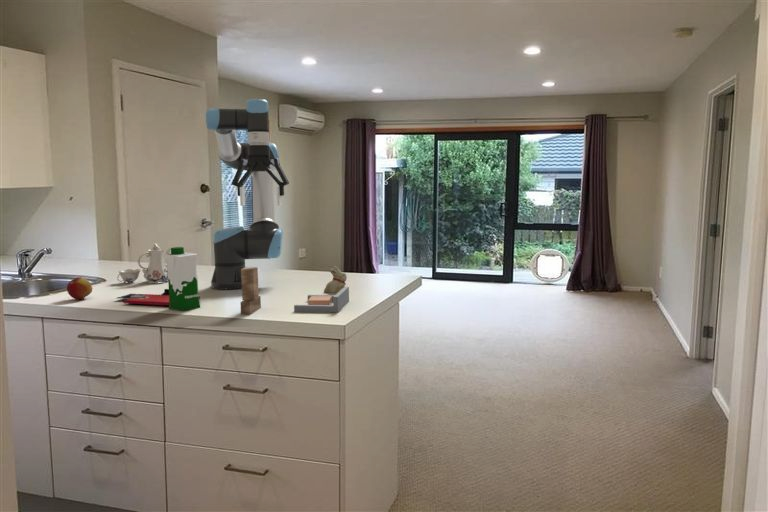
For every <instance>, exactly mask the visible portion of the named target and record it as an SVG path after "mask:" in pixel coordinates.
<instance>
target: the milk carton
mask: <svg viewBox="0 0 768 512" xmlns="http://www.w3.org/2000/svg"><path fill="white" fill-rule="evenodd" d="M170 249H171V250H170V254H168V255H166V254H165V255H164V258H165V259H164V260H165V263H166V265H167V268H168V282H167V283H168V289H169V305H168V308H169V309H170V310H174V311H180V312H185V311H189V310H190V311H191V310H193V309H197V308H201V302H200V299H199V296H200V295H199V286H198V285H199V283H198V282H199V281H198V261H199V254H198V253H194V252H185V250H184V249H185V248H184V247H182V246H175V247H171V248H170Z"/></svg>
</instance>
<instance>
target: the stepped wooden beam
mask: <svg viewBox="0 0 768 512" xmlns="http://www.w3.org/2000/svg"><path fill="white" fill-rule="evenodd" d="M241 279H242V288H241V299H242V301H240V315H242V316H243V315H244V316H249V315H250V316H251V315H253V314H254V313H255V312H257V311H258V310H260V309H262V303H261V301H262V300H261V295H260V294H259V292H260V291H259V271H258V266H257V267H254V266H252V267H251V266H250V267H249V266H245V268H243V269H241Z"/></svg>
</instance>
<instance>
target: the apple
mask: <svg viewBox="0 0 768 512" xmlns="http://www.w3.org/2000/svg"><path fill="white" fill-rule="evenodd" d="M66 291H67V294H68V295H69V296H70V297H71V298H72V299H75V300H77V299H78V300H77V301H79V300H80V299H81V300H83V299H84V298H86V297H88V296H89V295H90V294H91V293H92V292H93V286H92V284H91V282H90V281H89V280H88V279H86V278H85V277H82V276H81V277H76V278H73V279H72V280H71V279H70V281H69V282H68V283H67V285H66Z"/></svg>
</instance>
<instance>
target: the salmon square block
mask: <svg viewBox="0 0 768 512" xmlns="http://www.w3.org/2000/svg"><path fill="white" fill-rule="evenodd" d="M307 305H333V302H332V296H311V297H310V298H309V300H308V299H307Z"/></svg>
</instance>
